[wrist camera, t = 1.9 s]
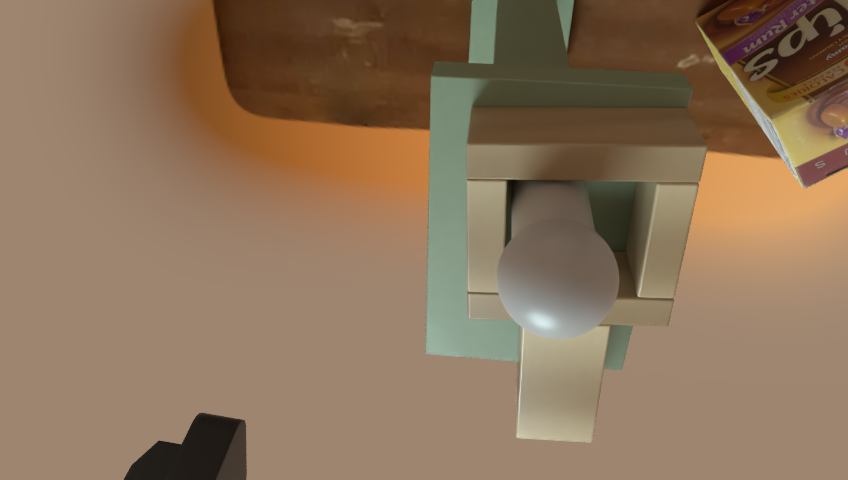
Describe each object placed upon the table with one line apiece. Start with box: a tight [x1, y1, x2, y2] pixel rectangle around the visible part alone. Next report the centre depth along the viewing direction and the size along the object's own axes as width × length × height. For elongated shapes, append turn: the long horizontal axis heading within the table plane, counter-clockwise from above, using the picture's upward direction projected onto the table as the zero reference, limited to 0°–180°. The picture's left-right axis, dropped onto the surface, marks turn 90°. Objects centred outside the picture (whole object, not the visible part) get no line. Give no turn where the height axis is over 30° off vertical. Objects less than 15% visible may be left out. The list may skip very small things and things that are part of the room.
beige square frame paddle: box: [466, 107, 708, 442], centre depth 18 cm, size 10×5×2 cm, turn 2°
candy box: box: [695, 0, 848, 188], centre depth 33 cm, size 9×4×15 cm, turn 127°
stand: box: [425, 0, 693, 370], centre depth 27 cm, size 9×6×32 cm, turn 179°
